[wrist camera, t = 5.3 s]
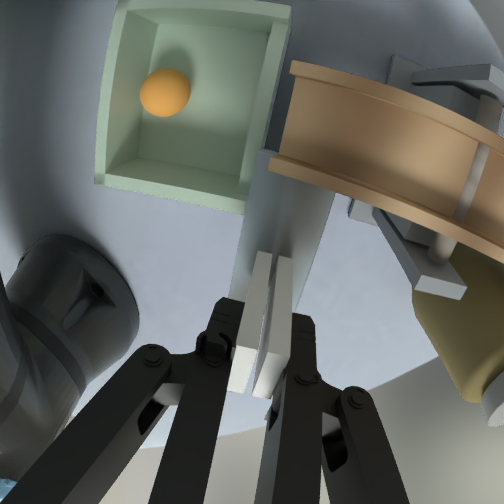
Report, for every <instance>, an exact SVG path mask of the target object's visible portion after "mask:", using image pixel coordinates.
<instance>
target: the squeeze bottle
mask: <svg viewBox="0 0 504 504" xmlns="http://www.w3.org/2000/svg"><path fill="white" fill-rule="evenodd" d="M448 261H449V263H450V264H451V265H452V267H453V268H454V269H455V271H456V272H457V273H458V275H459V276H460V277H461V279H462V280H463V282H464V283H465V284H466V286H467V289H466V291H465V292H464V294H463V296H462V298H461V299H460V300H457V299H452V298H448V297H444V296H440V295H435V294H431V293H427V292H423V291H419V290H414V288H413V286H412V303H413V307H414V311H415V316H416V318H417V319H418V321H419V323H420V324H421V326H422V328H423V329H424V331H425V333H426V334H427V336H428V338H429V339H430V341H431V343H432V344H433V346H434V348H435V350H436V351H437V353H438V355H439V357H440V358H441V360H442V362H443V364H444V366H445V367H446V369H447V371H448V373H449V375H450V377H451V378H452V380H453V382H454V384H455V386H456V388H457V390H458V392H459V394H460V396H461V397H462V398H463V399H464V400H466V401H467V402H473V403H480V405H481V408H482V410H483V413H484V416H485V418H486V422H487V424H488V425H490V426H491V427H494V426H500V425H503V424H504V264H503V263H501V262H499V261H497V260H495V259H493V258H491V257H489V256H487V255H485V254H483V253H481V252H479V251H477V250H475V249H473V248H471V247H469V246H467V245H465V244H463V243H460V242H458V241H457V243H456V245H455V247H454V250H453V252H452V254H451V256H450V258H449V260H448Z"/></svg>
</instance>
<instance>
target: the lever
mask: <svg viewBox="0 0 504 504" xmlns="http://www.w3.org/2000/svg"><path fill="white" fill-rule="evenodd" d="M289 73H290V74H292V75H294V76H296V80H295V84H294V88H293V93H292V97H291V101H290V106H289V110H288V114H287V119H286V123H285V127H284V132H283V136H282V140H281V144H280V149H279V152H275V151H272V150H268V149H262V150H259V151H258V153H257V158H256V163H255V167H254V172H253V177H252V182H251V186H250V191H249V196H248V201H247V206H246V210H245V215H244V220H243V225H242V230H241V235H240V240H239V245H238V250H237V255H236V260H235V265H234V270H233V275H232V280H231V285H230V290H229V295H228V298H230V299H234V300H238V301H242V302H245V301H246V297H247V293H248V289H249V285H250V280H251V276H252V272H253V268H254V264H255V260H256V256H257V251H262V252H266V253H270V254H272V260H271V267H270V274H269V281H268V288H267V295H268V292H269V288H270V285H271V281H272V278H273V274H274V271H275V267H276V264H277V260H278V257H279V256H283V257H287V258H291V259H293V297H292V312H293V313H295V311H296V308H297V305H298V303H299V300H300V297H301V295H302V292H303V289H304V286H305V283H306V281H307V278H308V275H309V272H310V269H311V267H312V264H313V261H314V258H315V255H316V252H317V249H318V246H319V243H320V240H321V237H322V234H323V231H324V228H325V225H326V222H327V219H328V216H329V213H330V209H331V206H332V203H333V200H334V197H335V193H336V192H337V193H339V194H342V195H345V196H348V197H351V198H353V199H356V200H359V201H362V202H364V203H367V204H370V205H372V206H375V207H377V208H380V209H383V210H385V211H388V212H390V213H393V214H395V215H398V216H400V217H403V218H405V219H408V220H410V221H413V222H415V223H417V224H420V225H422V226H424V227H427V228H429V229H431V230H434V231H436V234H435V236H434V238H433V241H432V243H431V245H430V247H429V249H428V252H427V256H428V257H429V258H430V259H431V260H433V261H434V262H436V263H438V264H440V265H446V264H447V262H448V260H449V258H450V256H451V254H452V252H453V250H454V247H455V245H456V243H457V241H458V242H460V243H463V244H465V245H467V246H469V247H471V248H473V249H475V250H477V251H479V252H481V253H483V254H485V255H487V256H489V257H491V258H493V259H495V260H497V261H499V262H501V263H503V264H504V138H502V137H500V136H498V135H497V134H496V132H497V128H498V124H499V120H500V115H501V111H502V106H503V105H502V104H501V103H500V102H499V101H497V100H496V99H494V98H492V97H489V96H486V95H480V99H479V104H478V108H477V112H476V116H475V121H474V122H473V121H471V120H469V119H467V118H465V117H463V116H461V115H459V114H457V113H455V112H453V111H451V110H449V109H447V108H444V107H442V106H440V105H438V104H435V103H433V102H431V101H428V100H426V99H423V98H421V97H419V96H416V95H414V94H411V93H408V92H406V91H403V90H400V89H398V88H395V87H392V86H389V85H386V84H383V83H380V82H377V81H374V80H371V79H368V78H364V77H361V76H358V75H354V74H351V73H347V72H343V71H340V70H336V69H332V68H328V67H323V66H319V65H315V64H310V63H305V62H301V61H295V60H292V63H291V67H290V72H289ZM267 295H266V300H267ZM265 307H266V301H265ZM264 313H265V308H264Z"/></svg>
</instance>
